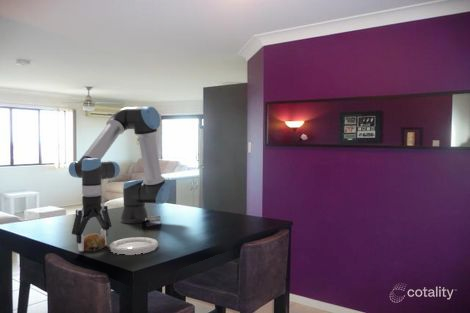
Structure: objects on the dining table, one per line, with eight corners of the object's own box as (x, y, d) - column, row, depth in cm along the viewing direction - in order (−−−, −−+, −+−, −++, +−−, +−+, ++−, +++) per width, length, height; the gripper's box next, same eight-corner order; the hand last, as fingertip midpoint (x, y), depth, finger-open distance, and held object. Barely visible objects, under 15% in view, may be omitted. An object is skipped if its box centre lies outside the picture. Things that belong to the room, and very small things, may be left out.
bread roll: (107, 254, 158) (109, 235, 161) (100, 250, 148) (102, 230, 151) (83, 254, 157) (86, 235, 160) (75, 250, 148) (78, 231, 151)
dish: (136, 239, 168) (136, 235, 168) (166, 246, 157) (166, 241, 157) (100, 249, 152) (100, 245, 152) (131, 257, 141) (131, 252, 141)
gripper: (108, 191, 165) (109, 240, 165) (61, 197, 146) (62, 252, 147) (119, 192, 160) (120, 242, 161) (72, 199, 142) (73, 256, 142)
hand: (92, 247), depth 154 cm, fingers closed on bread roll, 10 cm apart
